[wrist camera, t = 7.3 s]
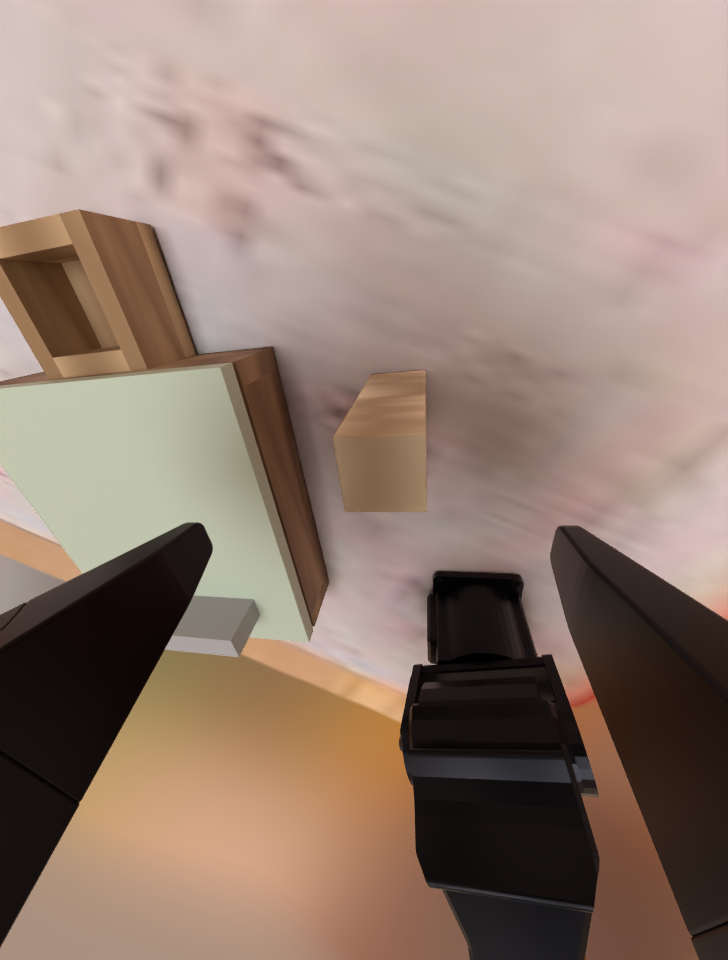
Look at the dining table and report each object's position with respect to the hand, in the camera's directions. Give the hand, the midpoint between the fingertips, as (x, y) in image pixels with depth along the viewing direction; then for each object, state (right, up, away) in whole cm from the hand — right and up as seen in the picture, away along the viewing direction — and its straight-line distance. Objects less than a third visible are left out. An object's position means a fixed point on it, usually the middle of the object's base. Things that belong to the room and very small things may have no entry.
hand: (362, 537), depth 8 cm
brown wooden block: (+2, +6, +11) cm, 12 cm away
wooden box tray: (-12, +3, +15) cm, 20 cm away
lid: (-13, -2, +13) cm, 18 cm away
